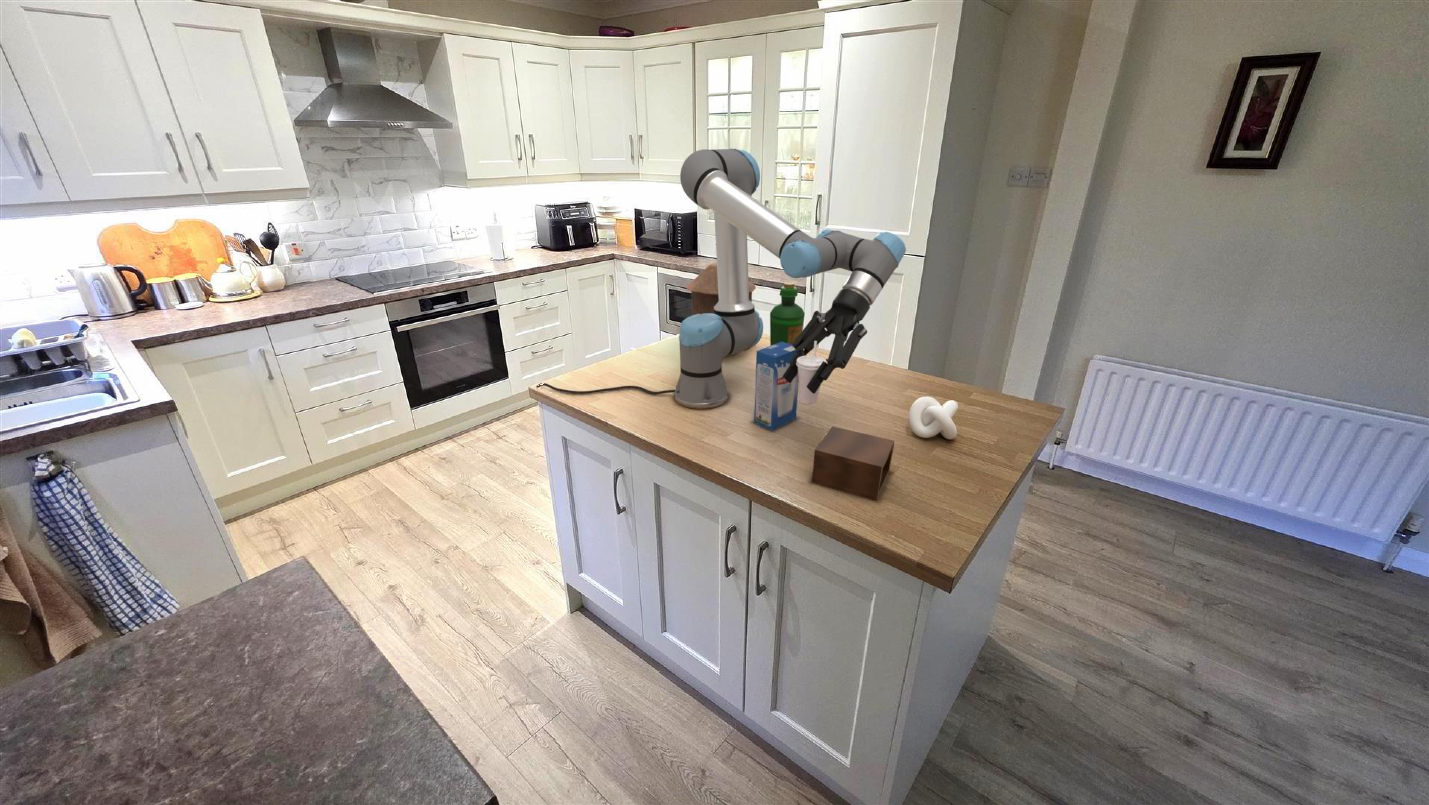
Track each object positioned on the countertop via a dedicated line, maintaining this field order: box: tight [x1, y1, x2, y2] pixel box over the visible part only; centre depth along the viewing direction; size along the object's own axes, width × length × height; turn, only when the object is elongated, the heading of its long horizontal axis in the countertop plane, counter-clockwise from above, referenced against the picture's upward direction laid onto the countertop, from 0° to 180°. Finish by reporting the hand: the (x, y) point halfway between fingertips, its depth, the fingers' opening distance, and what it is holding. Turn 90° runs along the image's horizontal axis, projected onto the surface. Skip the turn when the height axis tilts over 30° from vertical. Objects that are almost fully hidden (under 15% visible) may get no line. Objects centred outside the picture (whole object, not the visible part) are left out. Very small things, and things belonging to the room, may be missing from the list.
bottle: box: [769, 281, 806, 346], centre depth 170 cm, size 11×11×28 cm
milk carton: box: [753, 342, 799, 432], centre depth 140 cm, size 10×6×20 cm, turn 135°
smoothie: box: [796, 341, 827, 406], centre depth 118 cm, size 6×6×14 cm
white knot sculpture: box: [908, 396, 959, 440], centre depth 137 cm, size 11×12×9 cm
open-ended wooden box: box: [811, 425, 895, 501], centre depth 119 cm, size 14×12×8 cm
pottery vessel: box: [685, 262, 757, 316], centre depth 186 cm, size 26×26×30 cm
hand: (798, 384), depth 117 cm, fingers closed on smoothie, 6 cm apart
